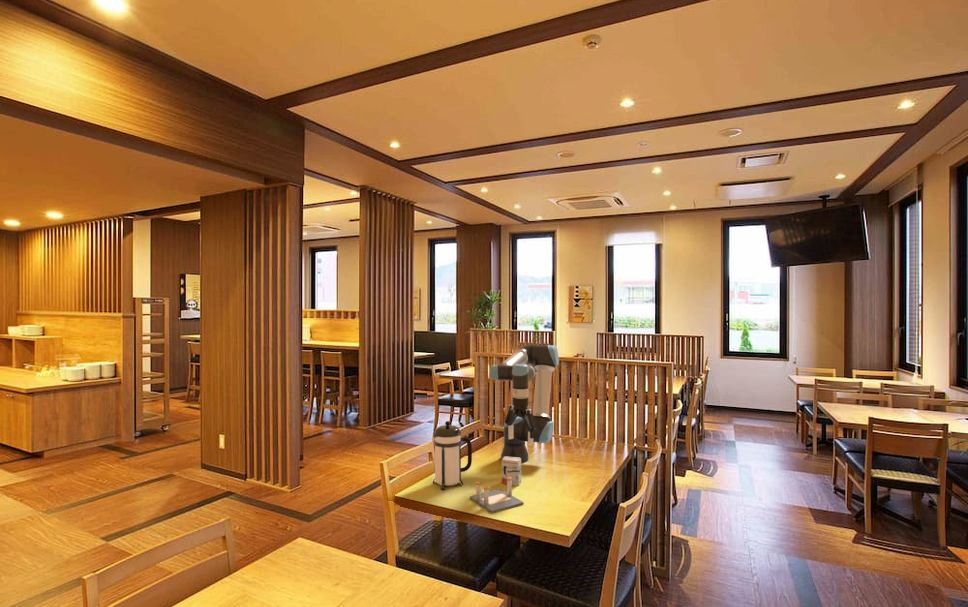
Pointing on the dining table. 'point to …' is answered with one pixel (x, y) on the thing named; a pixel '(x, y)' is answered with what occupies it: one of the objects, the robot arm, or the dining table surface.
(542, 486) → the dining table surface
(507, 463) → the ink box
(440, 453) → the coffee press
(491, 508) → the header pad
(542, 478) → the dining table surface
